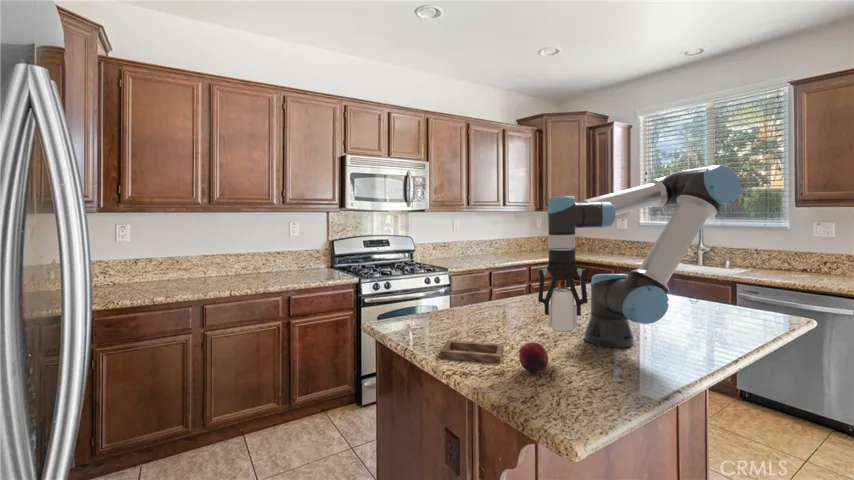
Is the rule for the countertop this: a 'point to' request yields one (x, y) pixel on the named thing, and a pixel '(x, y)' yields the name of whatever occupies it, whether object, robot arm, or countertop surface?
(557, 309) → the can
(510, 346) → the countertop surface
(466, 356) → the socket
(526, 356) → the fruit
